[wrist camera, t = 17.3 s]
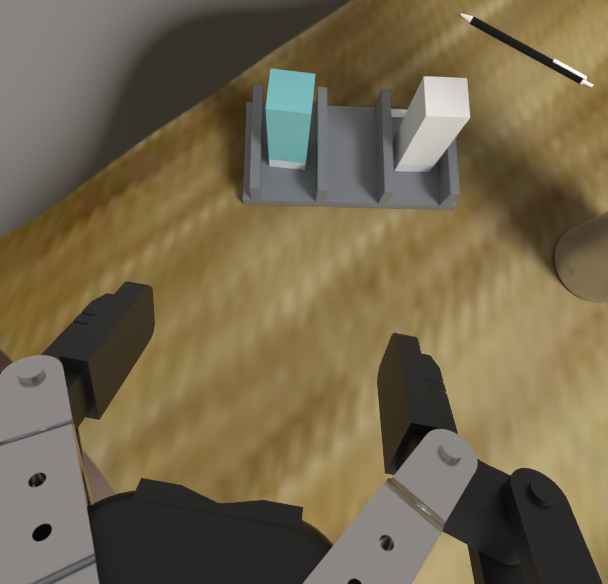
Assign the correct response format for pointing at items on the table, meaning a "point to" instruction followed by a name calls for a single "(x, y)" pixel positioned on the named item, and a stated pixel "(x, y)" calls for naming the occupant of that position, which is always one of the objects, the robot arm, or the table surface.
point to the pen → (528, 50)
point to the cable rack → (345, 162)
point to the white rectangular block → (431, 123)
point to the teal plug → (289, 117)
